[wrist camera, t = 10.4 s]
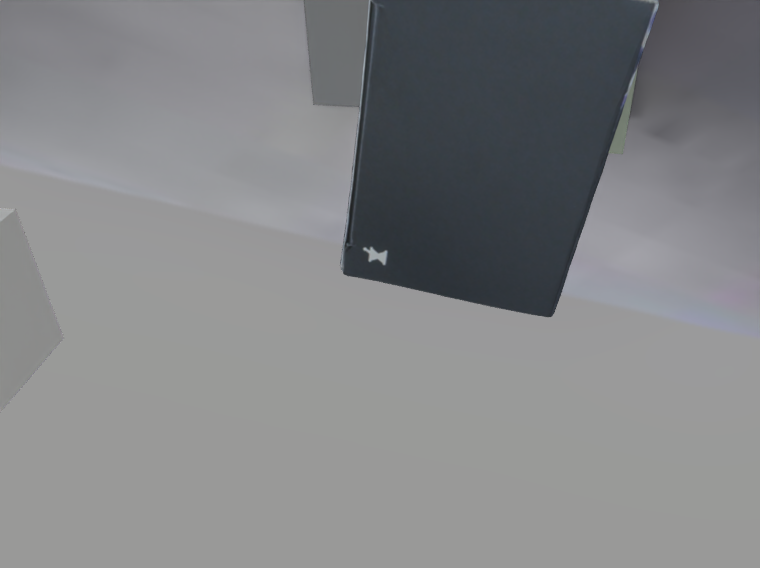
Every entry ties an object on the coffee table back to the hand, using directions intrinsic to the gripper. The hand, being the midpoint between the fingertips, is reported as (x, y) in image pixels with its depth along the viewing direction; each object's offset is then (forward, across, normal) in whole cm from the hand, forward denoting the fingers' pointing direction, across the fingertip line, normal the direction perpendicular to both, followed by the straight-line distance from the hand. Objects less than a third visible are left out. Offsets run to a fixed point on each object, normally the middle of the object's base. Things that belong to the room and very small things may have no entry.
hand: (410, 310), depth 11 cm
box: (+16, 0, 0) cm, 16 cm away
